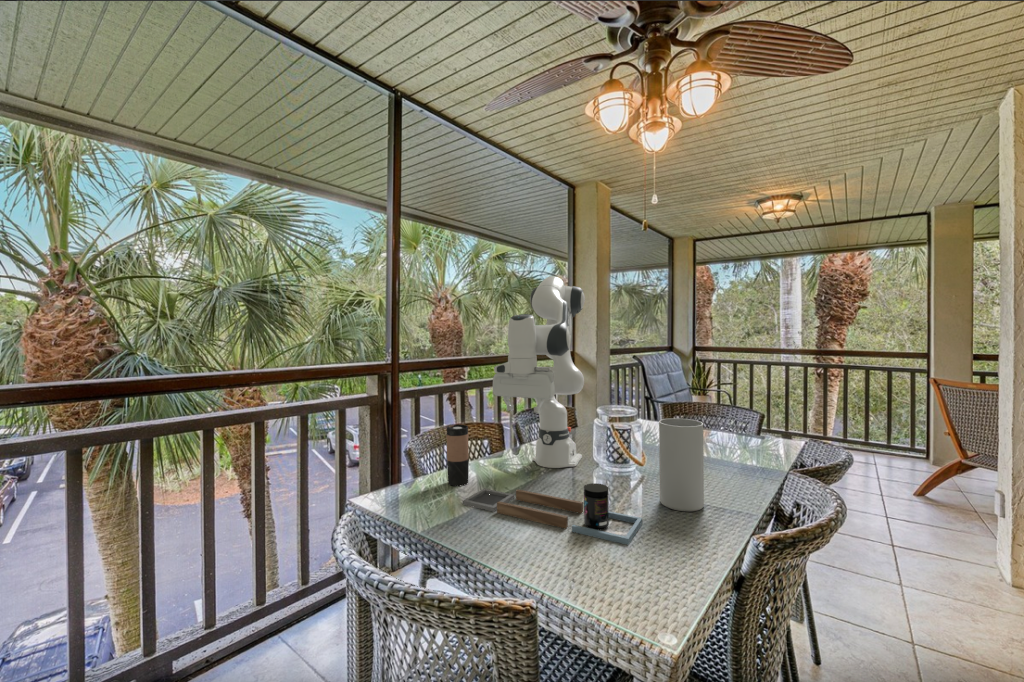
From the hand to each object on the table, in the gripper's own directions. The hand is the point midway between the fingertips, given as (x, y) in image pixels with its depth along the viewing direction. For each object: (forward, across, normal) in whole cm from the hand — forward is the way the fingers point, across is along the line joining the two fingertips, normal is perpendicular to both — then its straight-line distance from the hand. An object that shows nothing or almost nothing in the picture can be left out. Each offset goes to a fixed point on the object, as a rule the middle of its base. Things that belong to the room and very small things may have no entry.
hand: (523, 411), depth 134 cm
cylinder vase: (+29, -42, -21) cm, 56 cm away
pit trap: (+28, +11, +4) cm, 31 cm away
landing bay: (+28, -27, +4) cm, 39 cm away
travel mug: (+29, +30, -5) cm, 42 cm away
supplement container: (+29, -24, +5) cm, 38 cm away
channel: (+28, -7, +4) cm, 30 cm away
